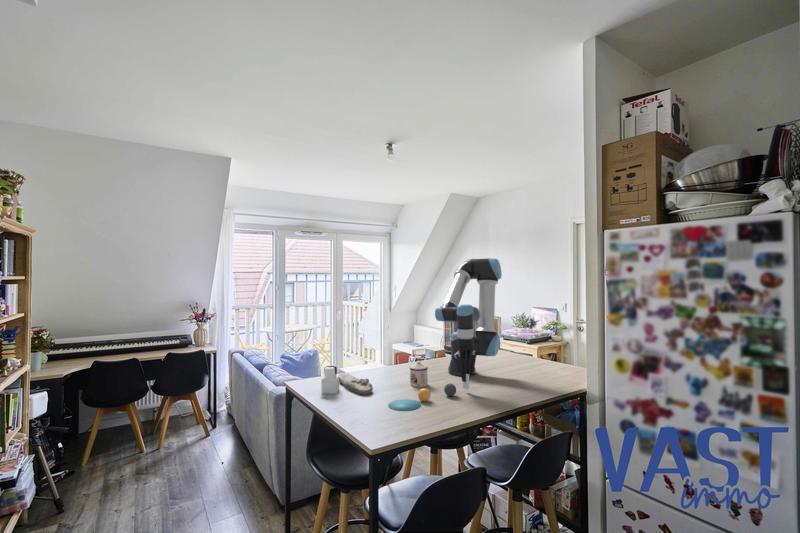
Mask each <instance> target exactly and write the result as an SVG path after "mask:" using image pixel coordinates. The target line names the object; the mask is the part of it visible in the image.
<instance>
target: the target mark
mask: <svg viewBox="0 0 800 533" xmlns="http://www.w3.org/2000/svg"><path fill="white" fill-rule="evenodd" d="M387 406H388V408H389V409H391V410H393V411H394V410H395V411H399V412H400V411H401V412H407V411H409V412H410V411H415V410H418V409H420V408H421V406H422V403H421V402H419V401H418V400H415V399H409V398H408V399H407V398H406V399H405V398H403V399H395V400H392V401H390V402H388V405H387Z"/></svg>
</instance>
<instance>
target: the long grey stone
mask: <svg viewBox="0 0 800 533" xmlns="http://www.w3.org/2000/svg"><path fill="white" fill-rule="evenodd" d="M338 375H339V384H341V385H343V387H345V388H347V389H348V390H350V391H351V390H352V392H354V393H355V394H359V395H369V394H372V391H374V390H373V384H372V383H370V380H369V378H357V377H355V376H353V375H351V374H350V373H341V374H338Z"/></svg>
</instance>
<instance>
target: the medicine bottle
mask: <svg viewBox="0 0 800 533" xmlns="http://www.w3.org/2000/svg"><path fill="white" fill-rule="evenodd" d="M337 370H338V368H337V366H335V365H327V366H325V367H324V368H323V377H322V378H321V394H322V395H336V394H337V393H338V392H339V391H340V382H339V375H340V374H338V373H337V372H338V371H337Z"/></svg>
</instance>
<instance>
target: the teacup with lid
mask: <svg viewBox="0 0 800 533" xmlns="http://www.w3.org/2000/svg"><path fill="white" fill-rule="evenodd" d="M428 369H429V368H428V365H426V364H424V363H421V361H419V360H417V361H416V363H415V364H412V365H410V367H409V372H410V373H409V374H410V381H409V382H410V386H412V387H415V388H422V387H423V388H425V387H427V386H428Z"/></svg>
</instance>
